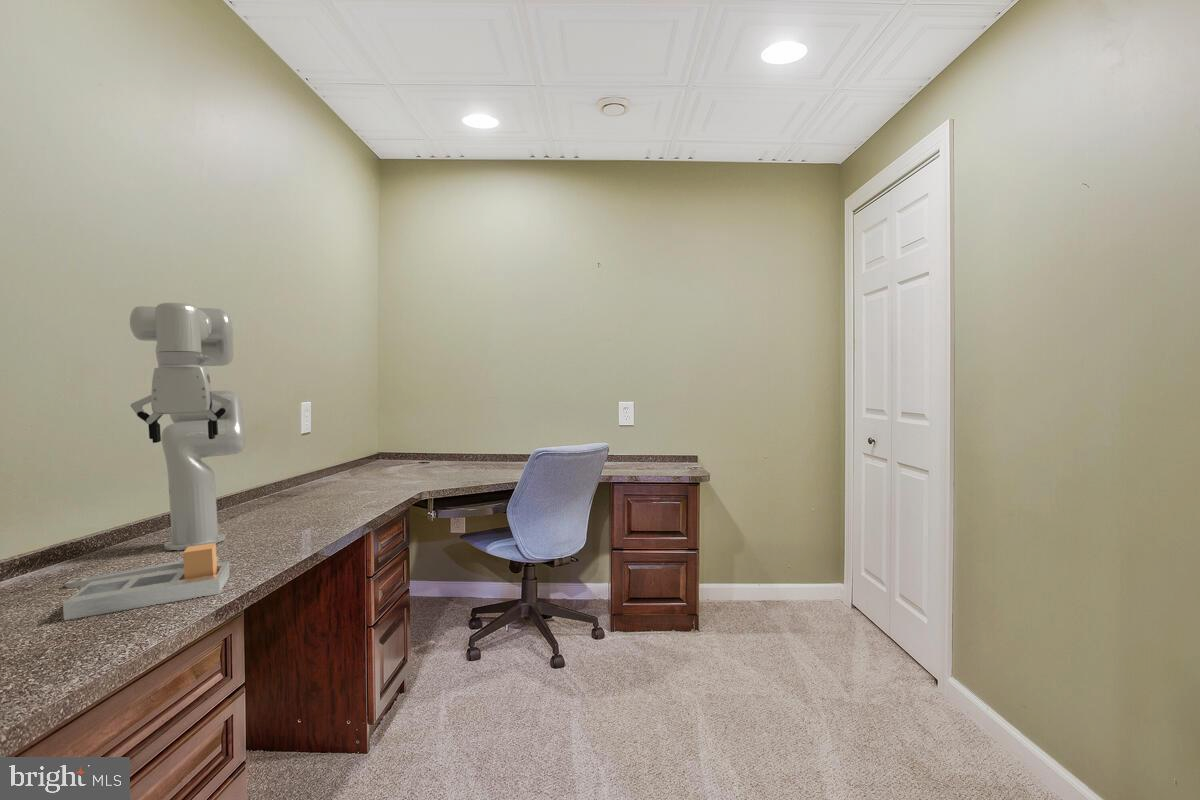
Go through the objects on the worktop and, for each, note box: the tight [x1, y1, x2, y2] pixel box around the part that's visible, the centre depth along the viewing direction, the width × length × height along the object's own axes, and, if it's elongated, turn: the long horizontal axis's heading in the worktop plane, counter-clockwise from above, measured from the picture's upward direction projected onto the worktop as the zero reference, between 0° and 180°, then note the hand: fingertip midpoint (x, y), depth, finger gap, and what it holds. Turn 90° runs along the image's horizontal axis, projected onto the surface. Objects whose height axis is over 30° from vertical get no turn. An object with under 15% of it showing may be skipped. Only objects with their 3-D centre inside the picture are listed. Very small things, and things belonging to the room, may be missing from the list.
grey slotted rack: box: [65, 555, 220, 589], centre depth 117 cm, size 25×6×2 cm, turn 121°
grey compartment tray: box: [62, 560, 231, 622], centre depth 102 cm, size 12×22×3 cm, turn 117°
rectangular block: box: [182, 543, 218, 579], centre depth 106 cm, size 4×4×8 cm
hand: (184, 440), depth 116 cm, fingers open, 9 cm apart
